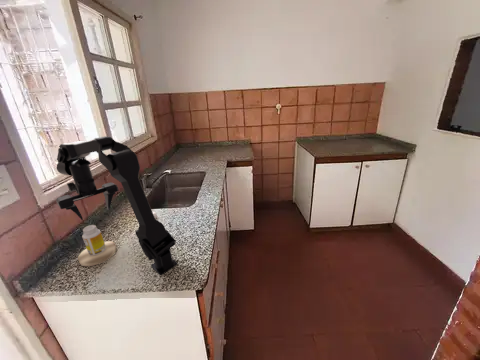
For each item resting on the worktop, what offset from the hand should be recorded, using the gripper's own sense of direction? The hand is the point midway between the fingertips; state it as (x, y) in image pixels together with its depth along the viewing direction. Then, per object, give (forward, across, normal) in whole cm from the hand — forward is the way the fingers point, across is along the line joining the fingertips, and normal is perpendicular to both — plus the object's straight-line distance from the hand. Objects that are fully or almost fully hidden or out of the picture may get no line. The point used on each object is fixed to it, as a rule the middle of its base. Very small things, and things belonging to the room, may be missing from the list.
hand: (95, 214), depth 83 cm
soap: (+13, -20, -4) cm, 24 cm away
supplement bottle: (+11, +4, +7) cm, 14 cm away
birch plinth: (+13, +4, +7) cm, 15 cm away
